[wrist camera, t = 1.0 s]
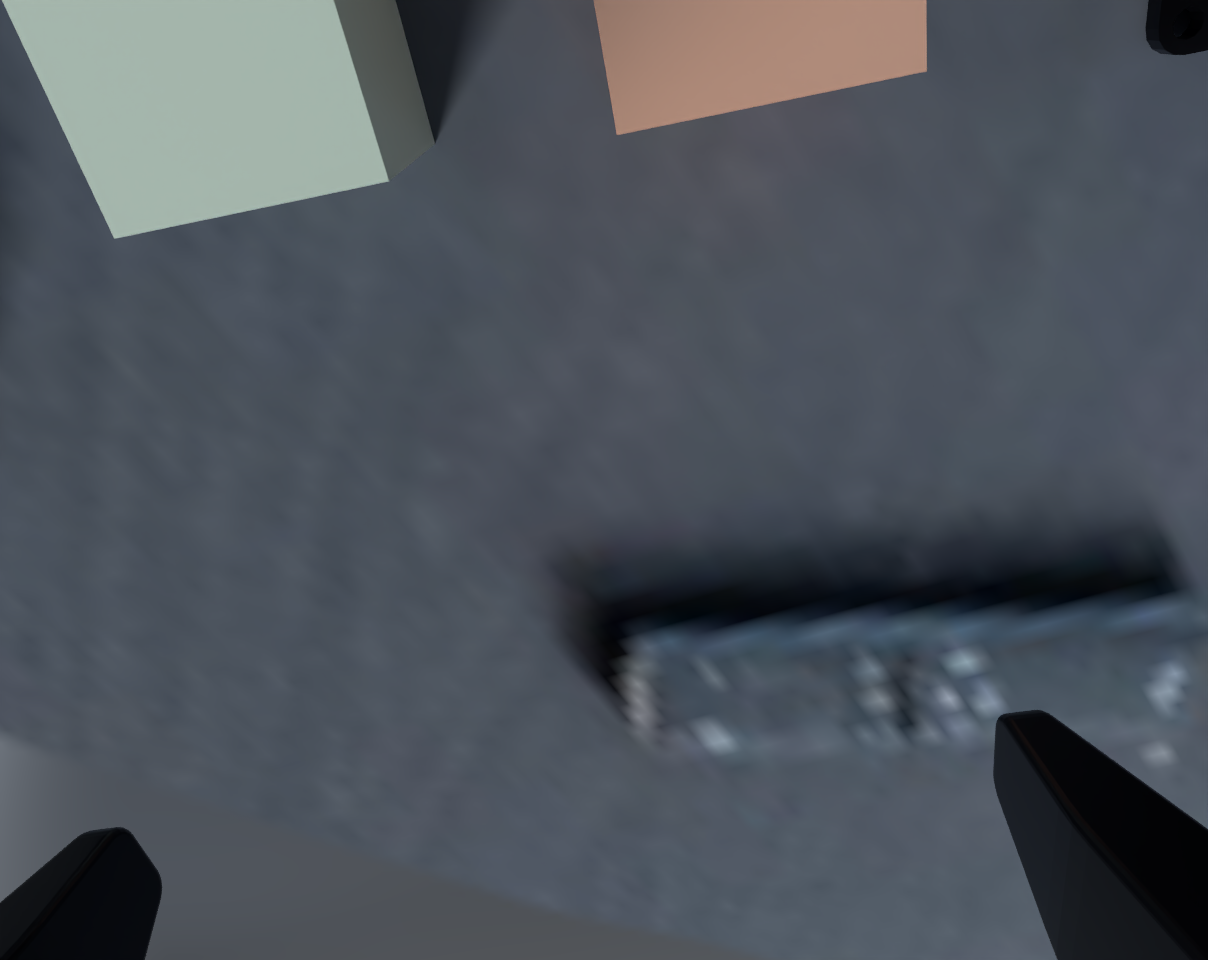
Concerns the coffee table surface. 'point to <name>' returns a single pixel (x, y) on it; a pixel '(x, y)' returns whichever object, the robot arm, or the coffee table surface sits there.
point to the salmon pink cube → (748, 52)
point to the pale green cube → (225, 100)
